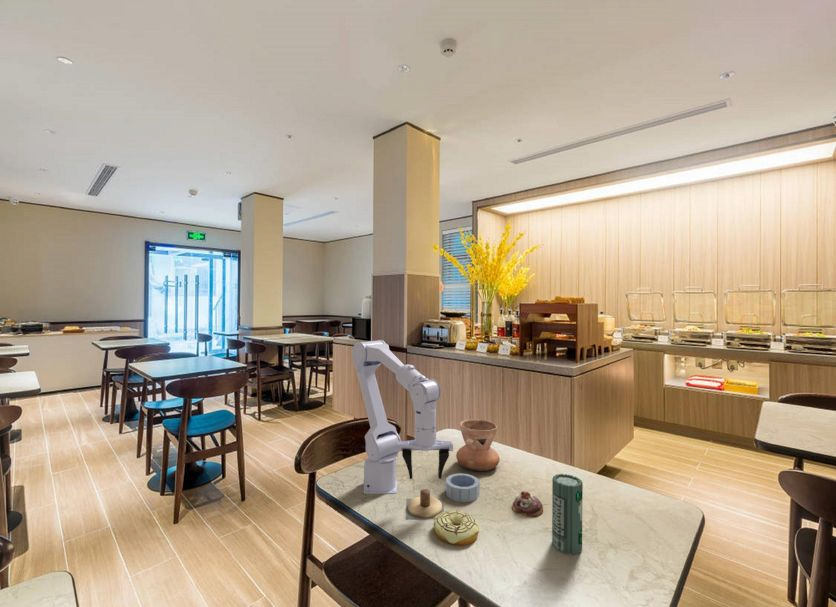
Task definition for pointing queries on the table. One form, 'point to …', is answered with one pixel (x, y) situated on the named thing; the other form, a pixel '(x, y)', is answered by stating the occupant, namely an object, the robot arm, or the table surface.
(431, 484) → the table surface
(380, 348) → the robot arm
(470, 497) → the bowl
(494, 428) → the ceramic jug
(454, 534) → the decorated donut
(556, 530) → the can
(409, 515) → the rubber mat
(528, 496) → the pastry
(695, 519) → the table surface
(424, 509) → the bamboo lid
